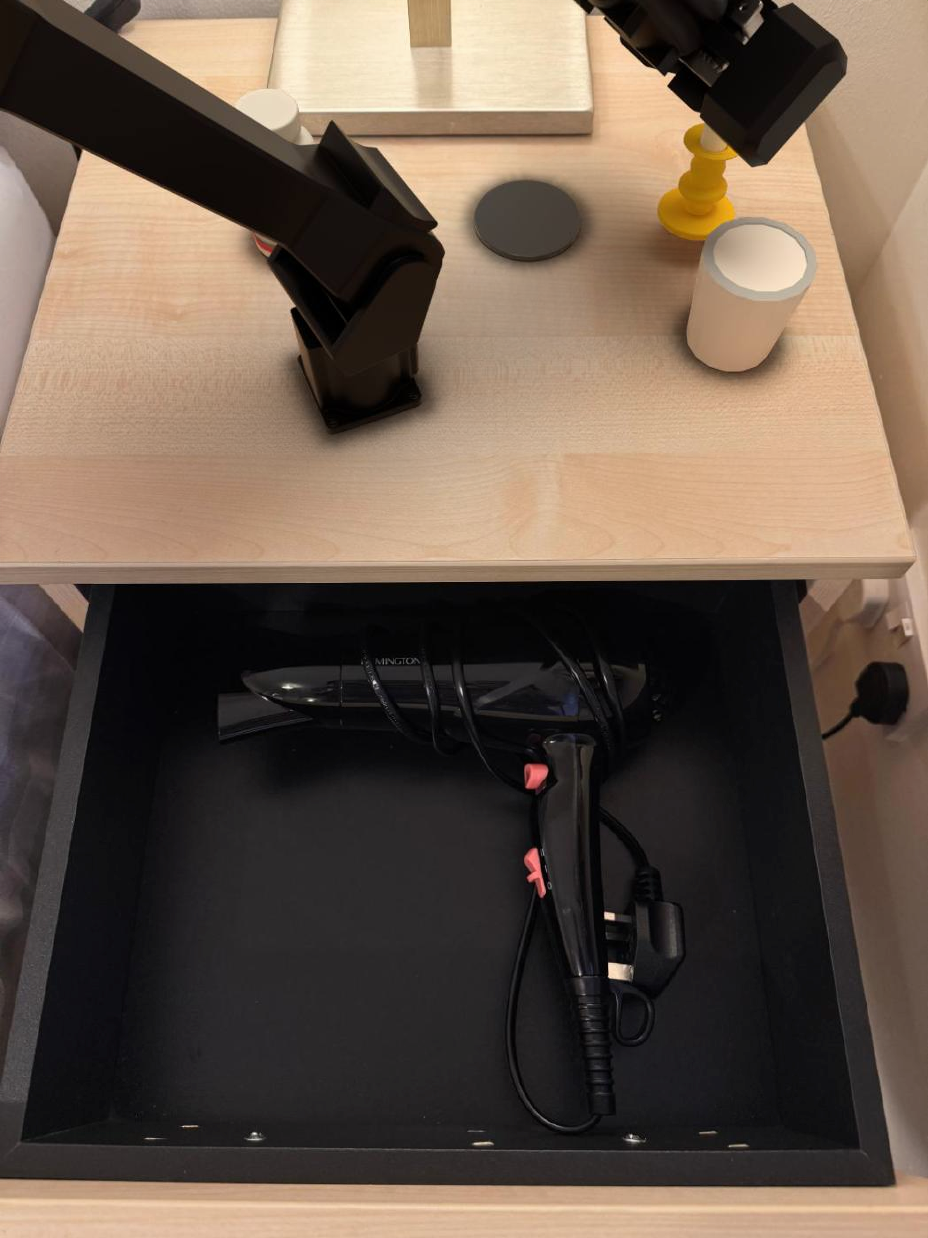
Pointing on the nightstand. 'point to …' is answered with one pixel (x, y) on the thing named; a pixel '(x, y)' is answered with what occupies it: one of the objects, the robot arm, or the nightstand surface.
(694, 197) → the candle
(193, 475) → the nightstand surface
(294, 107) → the pill bottle
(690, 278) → the nightstand surface
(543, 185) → the coaster
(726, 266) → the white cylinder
